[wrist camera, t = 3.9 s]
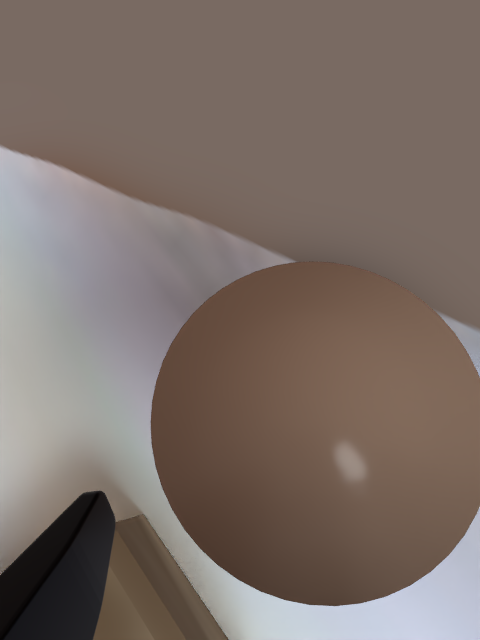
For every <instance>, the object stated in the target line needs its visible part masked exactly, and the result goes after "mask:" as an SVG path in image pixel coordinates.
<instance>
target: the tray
mask: <svg viewBox="0 0 480 640" xmlns="http://www.w3.org/2000/svg"><path fill="white" fill-rule="evenodd" d="M93 640H228V639H227V637H226V636H225V634H224V633H223V631H222V630H221V628H220V627H219V625H218V624H217V623H216V621H215V620H214V618H213V617H212V615H211V614H210V612H209V611H208V609H207V608H206V606H205V605H204V603H203V602H202V600H201V599H200V597H199V596H198V594H197V593H196V591H195V590H194V589H193V587H192V586H191V584H190V583H189V581H188V580H187V578H186V577H185V575H184V574H183V572H182V571H181V569H180V568H179V566H178V565H177V563H176V562H175V560H174V559H173V557H172V556H171V554H170V553H169V552H168V550H167V549H166V547H165V546H164V544H163V543H162V541H161V540H160V538H159V537H158V535H157V534H156V532H155V531H154V529H153V528H152V526H151V525H150V523H149V522H148V520H147V519H146V518H145V516H144V515H140V516H136V517H133V518H130V519H127V520H124V521H123V520H121V521H118V522H116V525H115V533H114V539H113V545H112V551H111V557H110V563H109V569H108V575H107V580H106V586H105V592H104V597H103V603H102V607H101V611H100V615H99V619H98V623H97V627H96V631H95V634H94V638H93Z"/></svg>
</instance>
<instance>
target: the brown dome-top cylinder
mask: <svg viewBox="0 0 480 640" xmlns="http://www.w3.org/2000/svg"><path fill="white" fill-rule="evenodd" d="M151 438H152V448H153V454H154V460H155V465H156V469H157V472H158V475H159V479H160V482H161V485H162V488H163V490H164V493H165V495H166V497H167V499H168V501H169V504H170V506H171V508H172V510H173V511H174V513H175V515H176V516H177V518H178V520H179V521H180V523H181V525H182V526H183V528H184V529H185V531H186V532H187V533H188V534H189V535H190V537H191V538H192V539H193V540H194V542H195V543H196V544H197V545H198V547H199V548H200V549H201V550H202V551H203V552H204V553H206V554H207V555H208V556H209V557H210V558H211V559H212V560H213V561H214V562H215V563H216V564H217V565H218V566H220V567H221V568H223V569H224V570H225V571H227V572H228V573H230V574H231V575H232V576H234V577H235V578H237V579H238V580H240V581H242V582H244V583H246V584H248V585H249V586H251V587H253V588H255V589H257V590H259V591H261V592H264V593H267V594H270V595H272V596H275V597H278V598H281V599H284V600H288V601H293V602H298V603H303V604H308V605H326V606H340V605H349V604H358V603H364V602H367V601H371V600H375V599H378V598H382V597H386V596H388V595H390V594H392V593H395V592H397V591H399V590H401V589H403V588H406V587H408V586H410V585H411V584H413V583H414V582H416V581H417V580H419V579H420V578H422V577H423V576H425V575H426V574H428V573H429V572H431V571H432V570H433V569H434V568H435V567H436V566H437V565H438V564H440V563H441V562H442V561H443V560H444V559H445V558H446V557H447V556H448V555H449V554H450V553H451V552H452V550H453V549H454V548H455V547H456V545H457V544H458V543H459V541H460V540H461V539H462V538H463V536H464V535H465V533H466V532H467V530H468V528H469V526H470V524H471V523H472V521H473V519H474V517H475V515H476V514H477V511H478V509H479V506H480V378H479V375H478V372H477V370H476V368H475V366H474V364H473V362H472V360H471V358H470V356H469V354H468V353H467V351H466V349H465V348H464V346H463V345H462V343H461V342H460V340H459V339H458V337H457V336H456V334H455V333H454V332H453V331H452V330H451V328H450V327H449V326H448V325H447V324H446V323H445V321H444V320H443V319H442V318H441V317H440V316H439V315H438V314H437V313H436V312H435V311H434V310H433V309H431V308H430V307H429V306H428V305H427V304H426V303H425V302H424V301H422V300H421V299H420V298H418V297H417V296H415V295H414V294H412V293H411V292H410V291H408V290H407V289H405V288H404V287H402V286H400V285H398V284H396V283H395V282H393V281H391V280H389V279H387V278H384V277H382V276H380V275H377V274H375V273H373V272H370V271H367V270H363V269H360V268H356V267H352V266H349V265H343V264H336V263H330V262H296V263H288V264H283V265H277V266H273V267H269V268H266V269H263V270H259V271H256V272H254V273H251V274H249V275H247V276H244V277H242V278H240V279H238V280H236V281H234V282H233V283H231V284H229V285H228V286H226V287H224V288H222V289H221V290H220V291H218V292H217V293H216V294H214V295H213V296H212V297H210V298H209V299H208V300H207V301H206V302H205V303H204V304H203V305H201V306H200V307H199V308H198V309H197V310H196V311H195V312H194V313H193V314H192V316H191V317H190V318H189V319H188V321H187V322H186V323H185V324H184V325H183V327H182V328H181V330H180V331H179V333H178V334H177V336H176V337H175V339H174V341H173V342H172V344H171V346H170V348H169V350H168V352H167V354H166V356H165V358H164V360H163V363H162V366H161V369H160V372H159V375H158V378H157V381H156V386H155V391H154V396H153V401H152V412H151Z"/></svg>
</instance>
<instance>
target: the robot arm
mask: <svg viewBox="0 0 480 640" xmlns="http://www.w3.org/2000/svg"><path fill="white" fill-rule="evenodd" d="M115 525H116V522H115V516H114V513H113V511H112V509H111V506H110V504H109V502H108V499H107V497H106V495H105V493H104V492H102V491H92V492H85V493H83V494H82V495H80V496H79V497H78V498H77V499H76V500H75V501H74V502H73V503H72V504H71V505H70V506H69V507H68V508H67V509H66V510H65V511H64V512H63V513H62V514H61V515H60V516H59V517H58V518H57V519H56V520H55V521H54V522H53V523H52V524H51V525H50V526H49V527H48V528H47V529H46V530H45V531H44V532H43V533H42V534H41V535H40V536H39V537H38V538H37V539H36V540H35V541H34V542H33V543H32V544H31V545H30V546H29V547H28V548H27V549H26V550H25V551H24V552H23V553H22V554H21V555H20V556H19V557H18V558H17V559H16V560H15V561H14V562H13V563H12V564H11V565H10V566H9V567H8V568H7V569H6V570H5V571H4V572H3V573H2V574H1V575H0V640H93V638H94V634H95V631H96V627H97V623H98V619H99V615H100V611H101V607H102V603H103V597H104V592H105V586H106V580H107V575H108V569H109V563H110V557H111V551H112V545H113V539H114V533H115Z"/></svg>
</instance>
